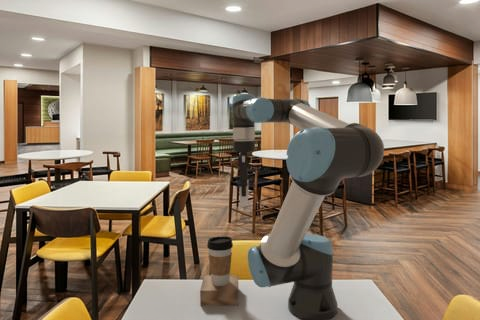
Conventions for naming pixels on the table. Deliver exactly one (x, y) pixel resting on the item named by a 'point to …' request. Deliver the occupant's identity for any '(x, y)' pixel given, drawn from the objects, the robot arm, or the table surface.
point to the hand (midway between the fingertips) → (244, 201)
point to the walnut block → (219, 292)
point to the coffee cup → (220, 259)
